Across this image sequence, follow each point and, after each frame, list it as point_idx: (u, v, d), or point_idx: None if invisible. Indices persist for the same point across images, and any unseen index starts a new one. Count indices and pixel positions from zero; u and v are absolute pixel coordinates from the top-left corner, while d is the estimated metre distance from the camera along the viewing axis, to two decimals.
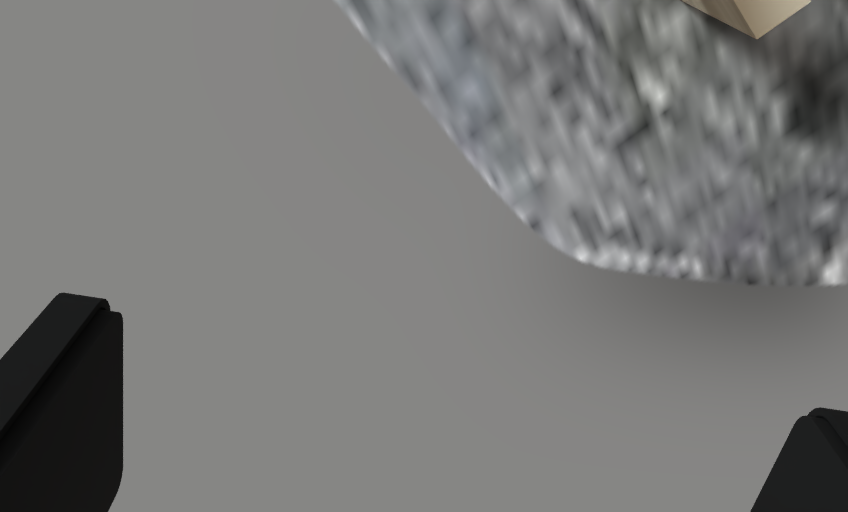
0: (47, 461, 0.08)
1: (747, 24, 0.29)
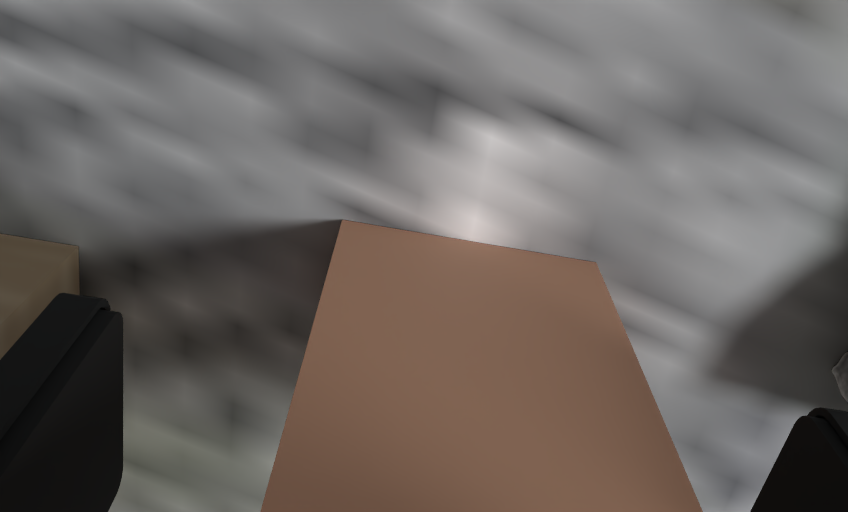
0: (47, 461, 0.08)
1: None
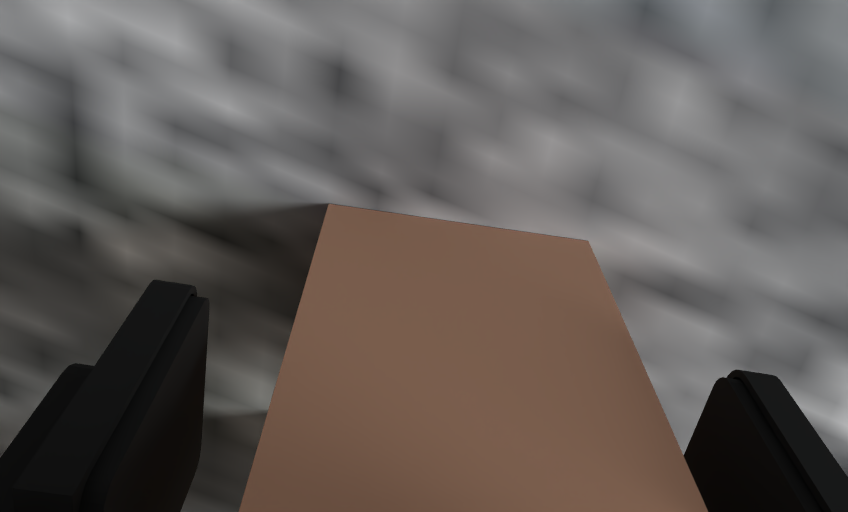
0: (157, 433, 0.08)
1: None
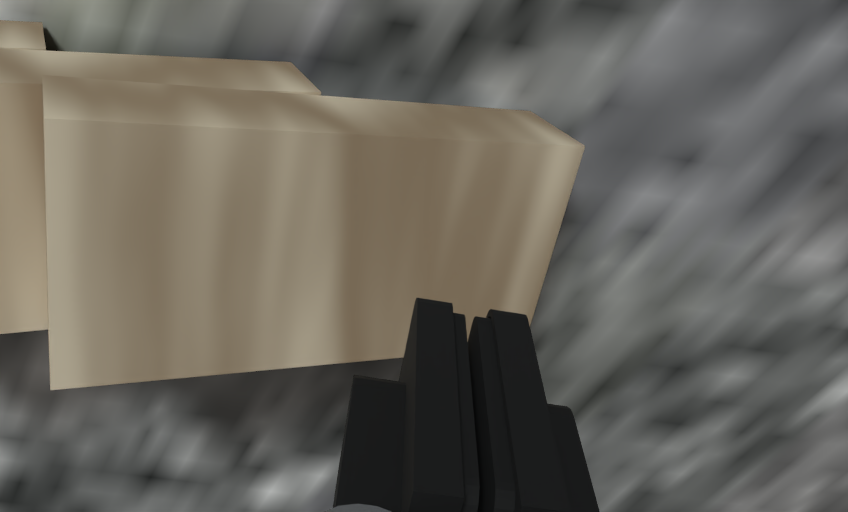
0: None
1: None
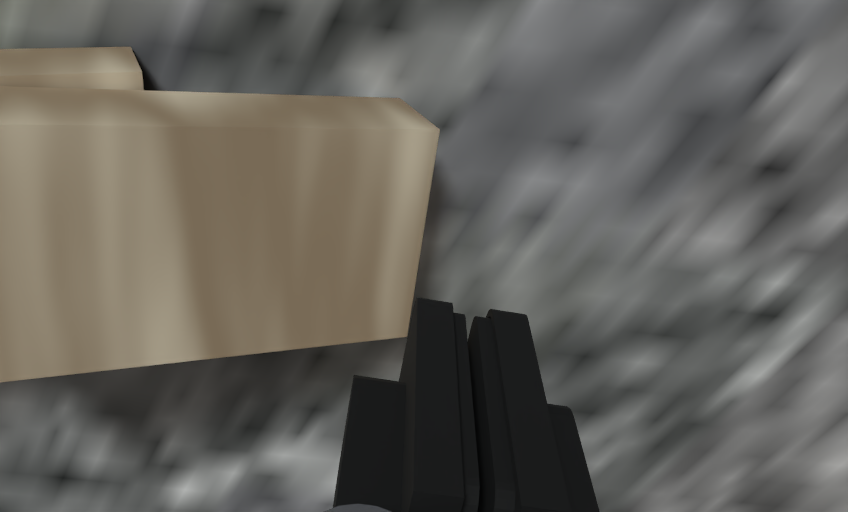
0: None
1: None
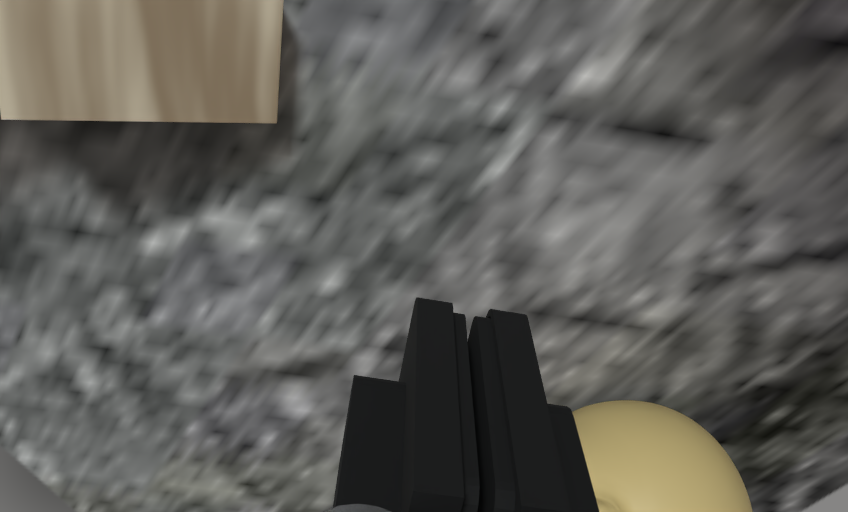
0: None
1: None
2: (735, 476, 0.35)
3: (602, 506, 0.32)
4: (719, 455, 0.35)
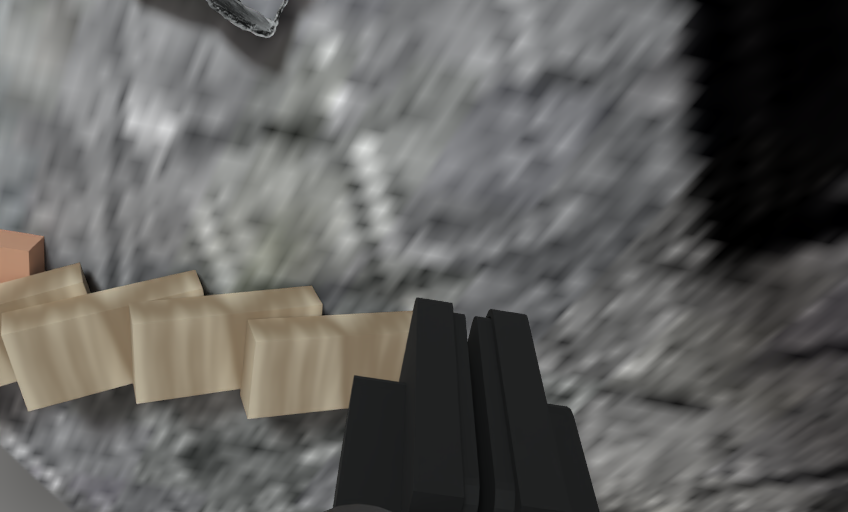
0: None
1: None
2: None
3: None
4: None
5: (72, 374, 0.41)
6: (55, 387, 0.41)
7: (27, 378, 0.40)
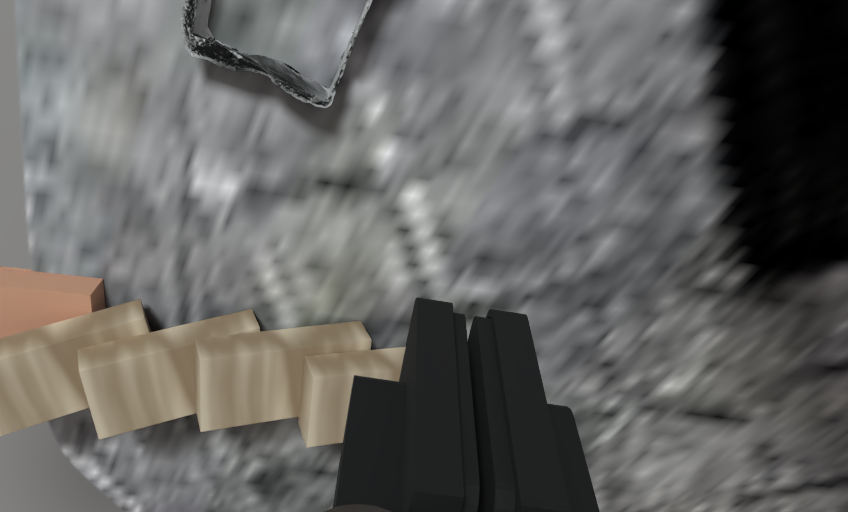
0: None
1: None
2: None
3: None
4: None
5: (140, 405, 0.44)
6: (124, 417, 0.44)
7: (99, 410, 0.43)
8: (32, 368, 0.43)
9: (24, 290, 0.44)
